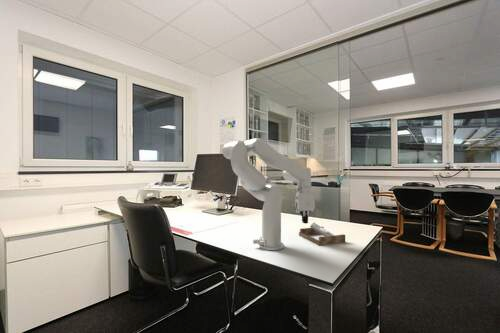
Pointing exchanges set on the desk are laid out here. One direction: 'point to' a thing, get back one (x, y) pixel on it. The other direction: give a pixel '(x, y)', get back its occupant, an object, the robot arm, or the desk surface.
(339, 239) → the walnut open frame
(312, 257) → the desk surface
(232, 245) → the desk surface
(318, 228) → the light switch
